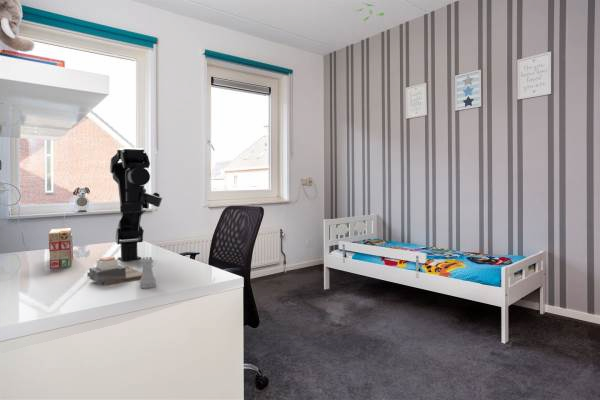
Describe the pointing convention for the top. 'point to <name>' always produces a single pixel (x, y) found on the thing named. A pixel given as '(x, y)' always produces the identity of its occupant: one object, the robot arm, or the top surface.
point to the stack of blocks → (60, 248)
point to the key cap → (107, 263)
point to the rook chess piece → (147, 274)
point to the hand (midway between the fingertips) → (136, 231)
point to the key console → (114, 275)
